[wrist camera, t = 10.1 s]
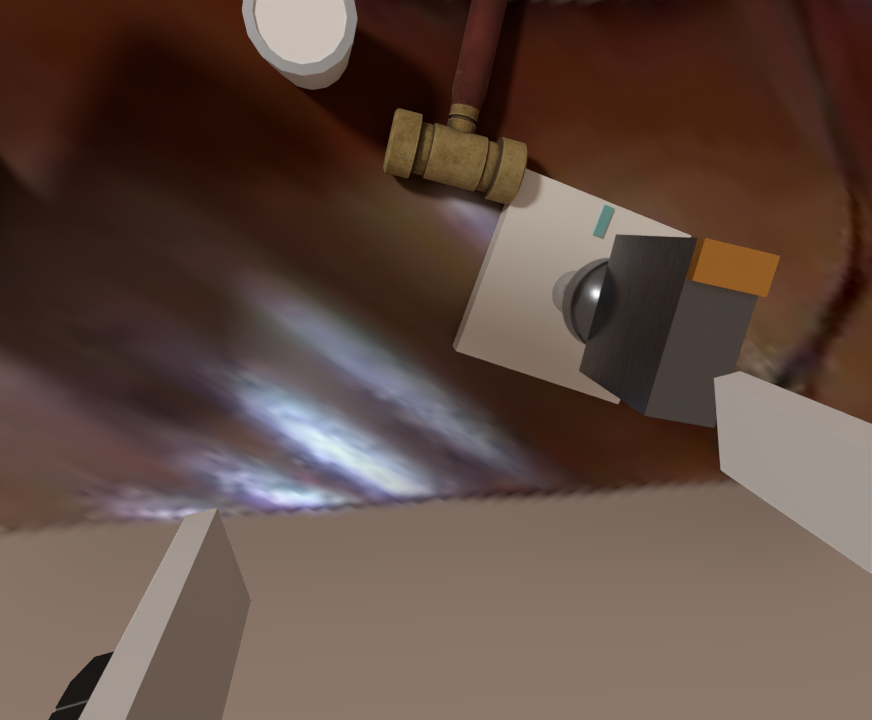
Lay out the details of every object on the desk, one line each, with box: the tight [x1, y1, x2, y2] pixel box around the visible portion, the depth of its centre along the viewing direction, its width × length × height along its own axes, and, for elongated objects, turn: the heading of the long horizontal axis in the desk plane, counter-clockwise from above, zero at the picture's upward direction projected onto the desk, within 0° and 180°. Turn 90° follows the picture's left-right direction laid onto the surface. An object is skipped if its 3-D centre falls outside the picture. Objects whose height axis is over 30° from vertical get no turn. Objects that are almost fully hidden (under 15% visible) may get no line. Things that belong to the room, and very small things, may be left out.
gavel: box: [383, 0, 528, 204], centre depth 41 cm, size 21×5×10 cm
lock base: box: [452, 169, 691, 404], centre depth 44 cm, size 15×15×8 cm
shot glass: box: [242, 0, 357, 90], centre depth 38 cm, size 7×7×7 cm
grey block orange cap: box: [562, 234, 780, 428], centre depth 34 cm, size 9×6×13 cm
